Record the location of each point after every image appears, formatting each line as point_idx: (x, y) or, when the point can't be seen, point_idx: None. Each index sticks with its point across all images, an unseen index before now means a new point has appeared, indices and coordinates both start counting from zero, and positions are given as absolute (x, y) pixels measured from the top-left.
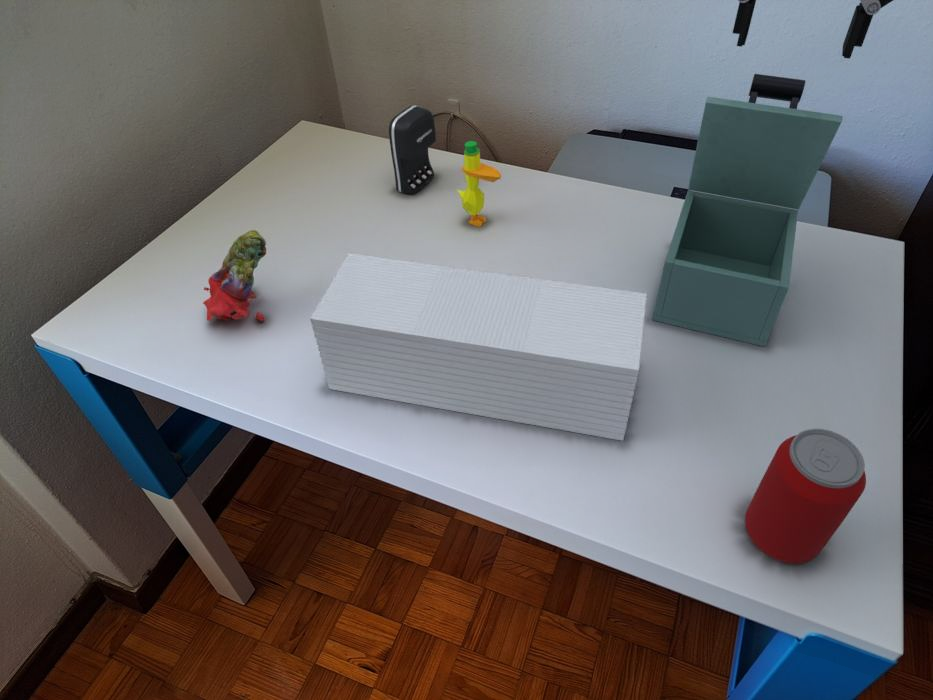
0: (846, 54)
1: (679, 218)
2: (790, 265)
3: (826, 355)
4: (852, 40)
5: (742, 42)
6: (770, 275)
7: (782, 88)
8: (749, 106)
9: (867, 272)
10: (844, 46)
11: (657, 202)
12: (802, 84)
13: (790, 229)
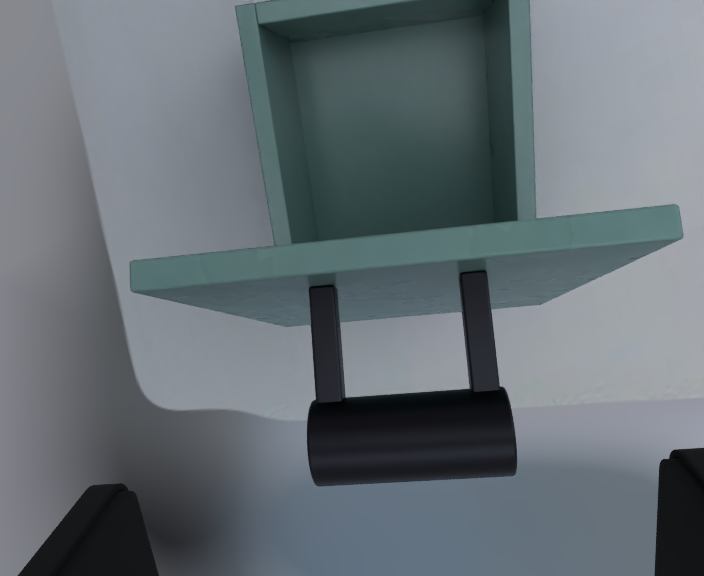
0: (106, 489)
1: (533, 165)
2: (251, 96)
3: (175, 65)
4: (61, 547)
5: (688, 458)
6: (309, 204)
7: (385, 413)
8: (485, 234)
9: (169, 327)
10: (133, 557)
11: (575, 383)
12: (316, 446)
13: (284, 236)
